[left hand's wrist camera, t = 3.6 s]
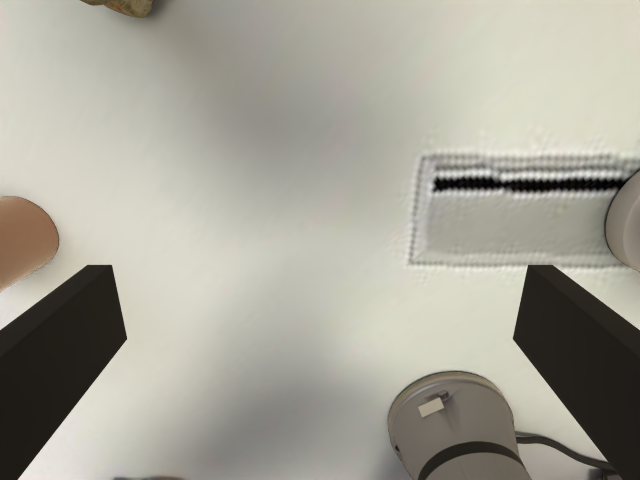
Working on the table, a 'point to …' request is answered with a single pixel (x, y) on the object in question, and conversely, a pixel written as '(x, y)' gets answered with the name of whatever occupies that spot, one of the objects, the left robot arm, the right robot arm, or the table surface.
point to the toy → (610, 475)
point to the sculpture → (126, 6)
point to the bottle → (24, 239)
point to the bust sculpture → (626, 224)
